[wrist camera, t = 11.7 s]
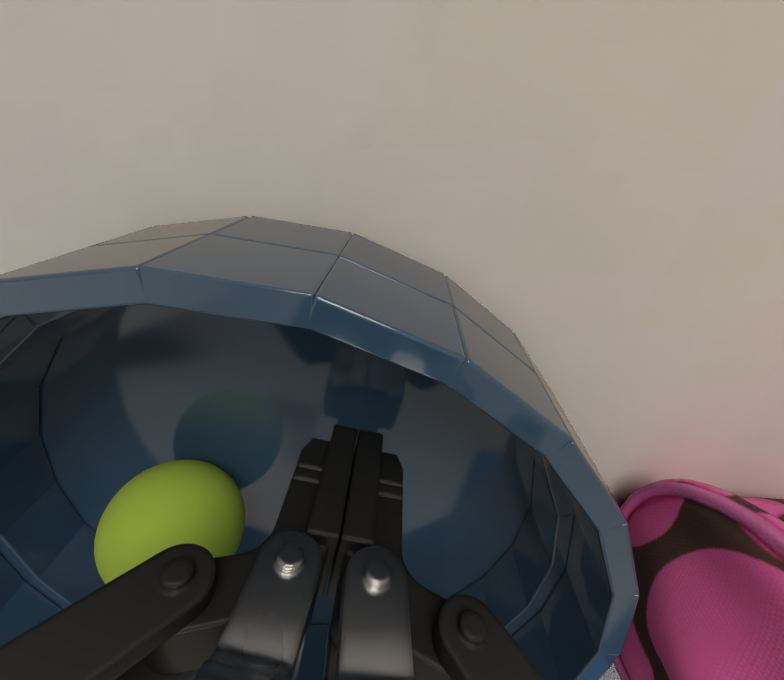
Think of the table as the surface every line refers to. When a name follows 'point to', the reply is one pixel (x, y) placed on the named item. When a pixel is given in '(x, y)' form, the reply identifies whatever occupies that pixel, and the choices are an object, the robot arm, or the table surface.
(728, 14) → the table surface
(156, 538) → the grape
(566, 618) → the bowl
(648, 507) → the pencil case
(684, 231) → the table surface
